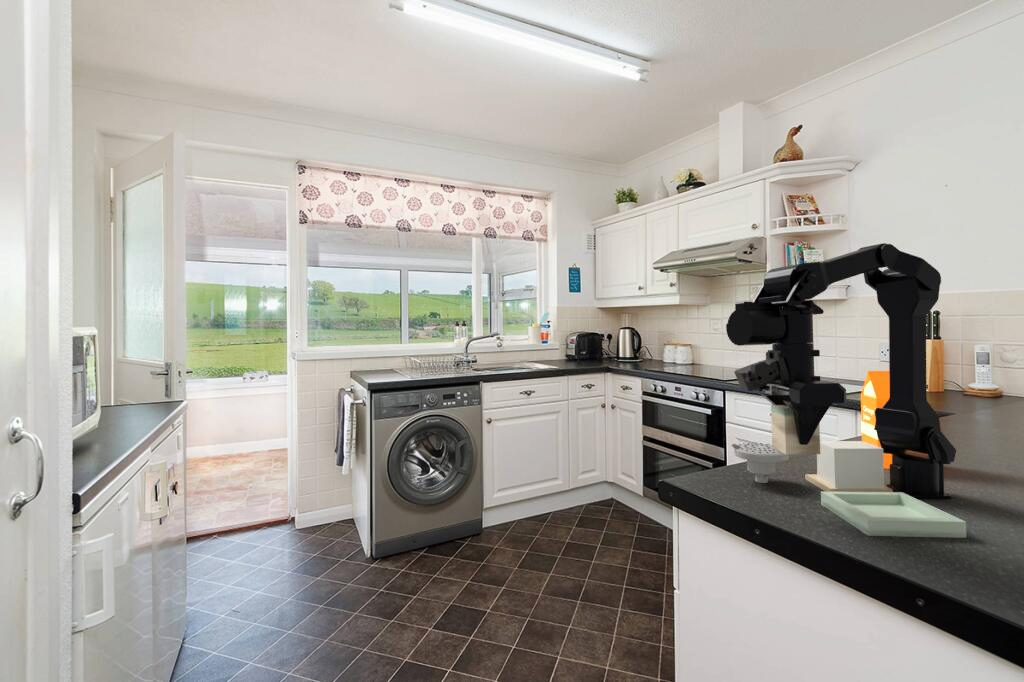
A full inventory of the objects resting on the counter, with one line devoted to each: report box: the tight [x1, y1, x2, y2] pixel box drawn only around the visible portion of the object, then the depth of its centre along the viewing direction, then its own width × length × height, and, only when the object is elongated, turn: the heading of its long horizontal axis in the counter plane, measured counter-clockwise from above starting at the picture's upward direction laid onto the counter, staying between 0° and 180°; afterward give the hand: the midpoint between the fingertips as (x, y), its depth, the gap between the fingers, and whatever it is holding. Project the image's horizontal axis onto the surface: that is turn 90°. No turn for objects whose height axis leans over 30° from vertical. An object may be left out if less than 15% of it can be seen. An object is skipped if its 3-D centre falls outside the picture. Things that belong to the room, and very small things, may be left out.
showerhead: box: [730, 442, 790, 484], centre depth 91 cm, size 9×7×10 cm
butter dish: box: [804, 440, 894, 492], centre depth 87 cm, size 10×9×8 cm
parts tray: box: [820, 490, 967, 539], centre depth 71 cm, size 12×12×2 cm
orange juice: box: [860, 370, 892, 470], centre depth 100 cm, size 8×9×20 cm
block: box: [770, 404, 821, 455], centre depth 75 cm, size 5×5×7 cm
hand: (795, 440), depth 75 cm, fingers closed on block, 5 cm apart
